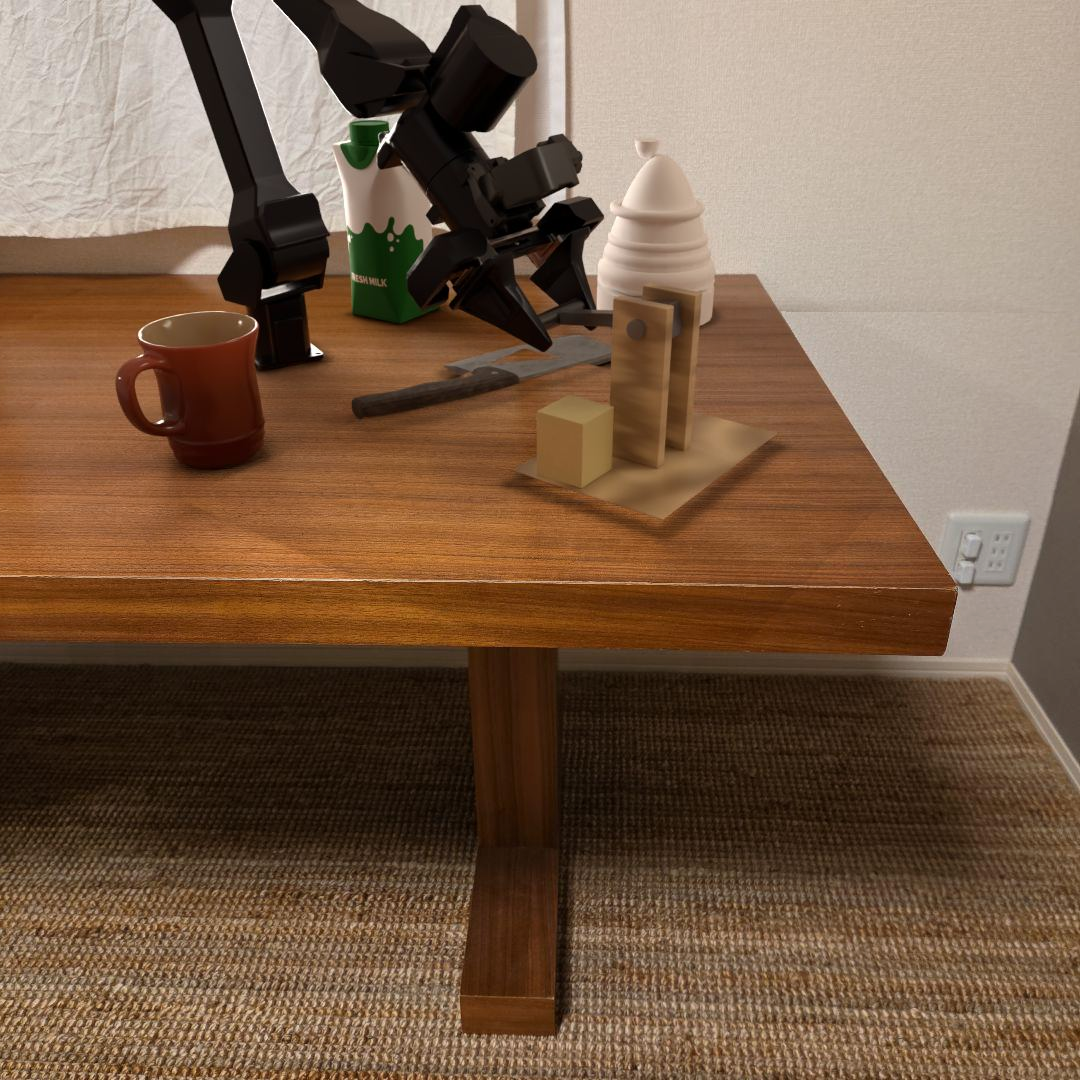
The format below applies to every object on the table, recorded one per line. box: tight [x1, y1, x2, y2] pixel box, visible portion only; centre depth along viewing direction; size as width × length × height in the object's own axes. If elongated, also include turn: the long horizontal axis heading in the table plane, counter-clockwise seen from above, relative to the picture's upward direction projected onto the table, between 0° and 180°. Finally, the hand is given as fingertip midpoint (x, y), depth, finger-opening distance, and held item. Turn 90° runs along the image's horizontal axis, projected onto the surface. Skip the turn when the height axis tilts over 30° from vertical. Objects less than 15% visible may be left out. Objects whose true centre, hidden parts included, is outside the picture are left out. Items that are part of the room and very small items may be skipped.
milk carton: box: [331, 119, 441, 325], centre depth 109 cm, size 9×9×20 cm
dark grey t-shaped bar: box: [536, 299, 682, 338], centre depth 75 cm, size 11×6×2 cm, turn 53°
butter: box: [536, 394, 614, 488], centre depth 73 cm, size 4×4×5 cm
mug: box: [114, 311, 266, 470], centre depth 76 cm, size 12×9×10 cm
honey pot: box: [596, 137, 717, 326], centre depth 108 cm, size 13×13×18 cm
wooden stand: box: [511, 283, 778, 521], centre depth 75 cm, size 13×18×13 cm
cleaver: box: [350, 334, 612, 420], centre depth 94 cm, size 30×10×2 cm, turn 131°
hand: (572, 337), depth 78 cm, fingers closed on dark grey t-shaped bar, 6 cm apart
